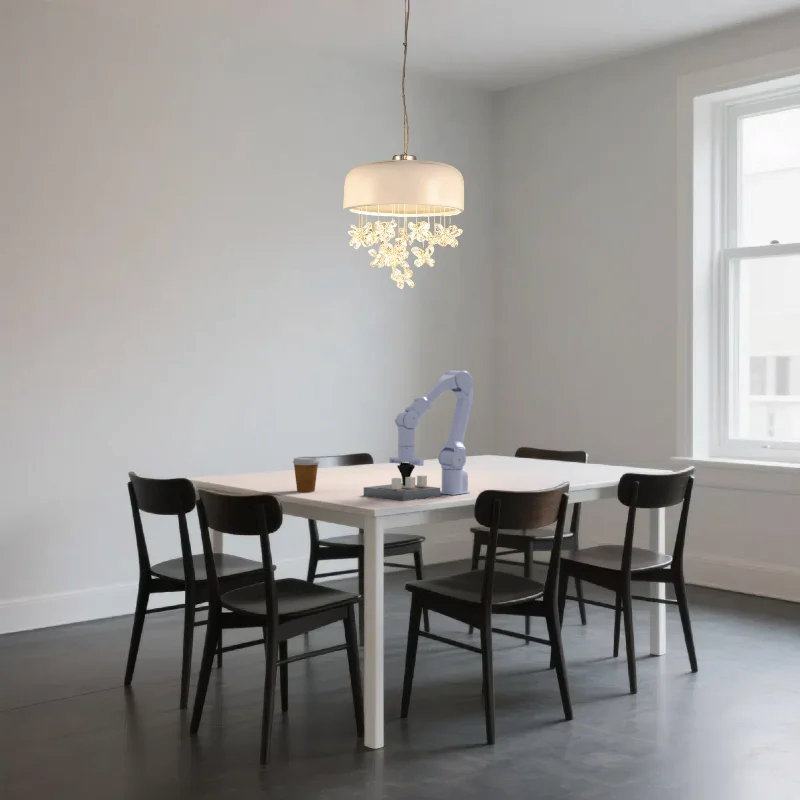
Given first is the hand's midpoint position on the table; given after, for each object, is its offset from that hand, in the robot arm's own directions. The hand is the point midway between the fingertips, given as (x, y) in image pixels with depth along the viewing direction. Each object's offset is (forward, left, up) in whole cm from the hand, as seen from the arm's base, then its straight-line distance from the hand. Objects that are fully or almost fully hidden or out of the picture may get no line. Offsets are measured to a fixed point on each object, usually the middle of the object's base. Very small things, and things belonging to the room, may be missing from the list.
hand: (406, 485), depth 363 cm
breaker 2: (-6, +2, -1) cm, 7 cm away
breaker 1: (+7, +2, -1) cm, 7 cm away
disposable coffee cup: (+16, -34, -4) cm, 38 cm away
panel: (0, -2, -4) cm, 4 cm away
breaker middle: (0, +2, -1) cm, 2 cm away
